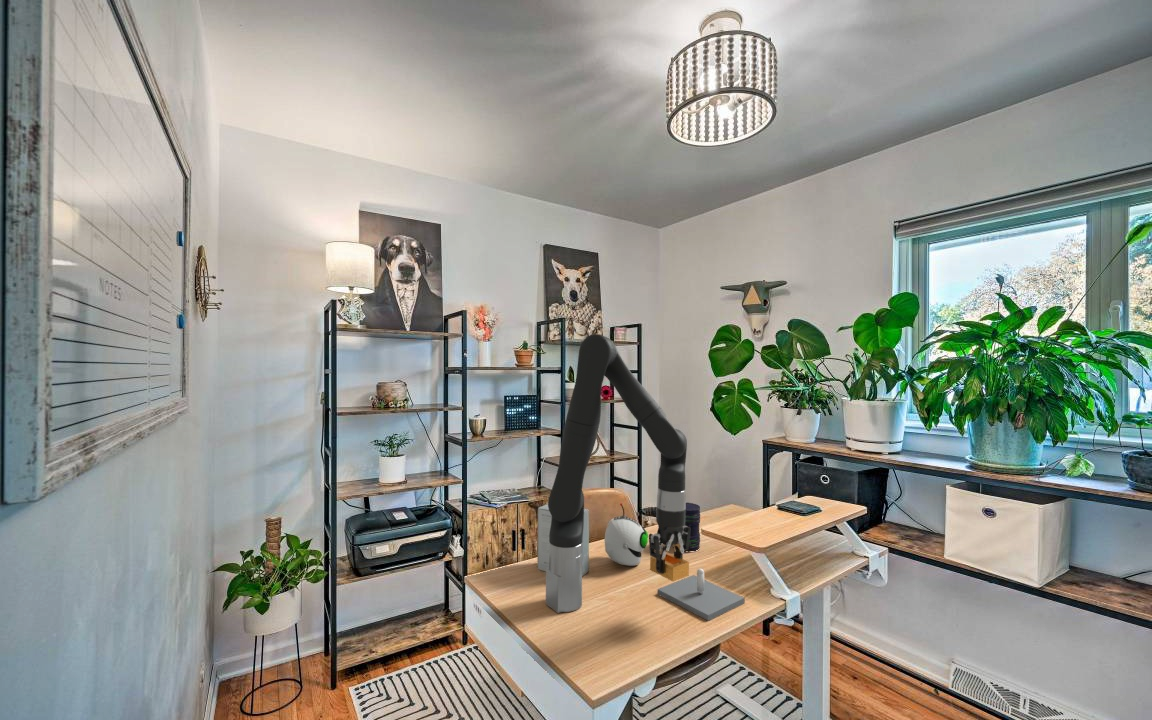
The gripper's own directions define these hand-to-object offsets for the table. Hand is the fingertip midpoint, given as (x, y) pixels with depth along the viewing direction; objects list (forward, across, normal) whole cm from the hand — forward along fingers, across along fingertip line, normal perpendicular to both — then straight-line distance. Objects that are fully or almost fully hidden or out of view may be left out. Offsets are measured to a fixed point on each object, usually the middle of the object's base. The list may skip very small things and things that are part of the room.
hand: (669, 569), depth 128 cm
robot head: (+13, +14, +32) cm, 37 cm away
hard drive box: (+13, -6, +40) cm, 42 cm away
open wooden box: (+1, 0, 0) cm, 1 cm away
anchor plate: (+13, +15, +2) cm, 20 cm away
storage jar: (+13, +42, +30) cm, 53 cm away
